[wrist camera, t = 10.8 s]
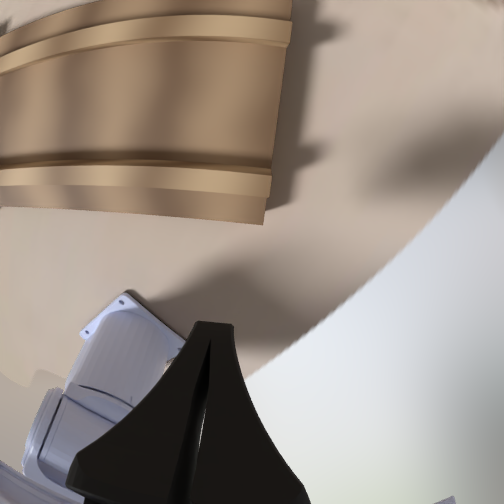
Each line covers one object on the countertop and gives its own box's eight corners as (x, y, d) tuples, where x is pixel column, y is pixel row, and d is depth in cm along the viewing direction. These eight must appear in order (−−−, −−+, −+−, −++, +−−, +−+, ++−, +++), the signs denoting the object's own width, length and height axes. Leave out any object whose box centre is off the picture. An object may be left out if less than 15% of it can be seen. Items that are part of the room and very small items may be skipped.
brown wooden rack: (289, 4, 12) (297, -15, 9) (262, 212, 19) (263, 236, 16) (-7, 48, 11) (-35, 50, 8) (-3, 197, 18) (-28, 213, 15)
